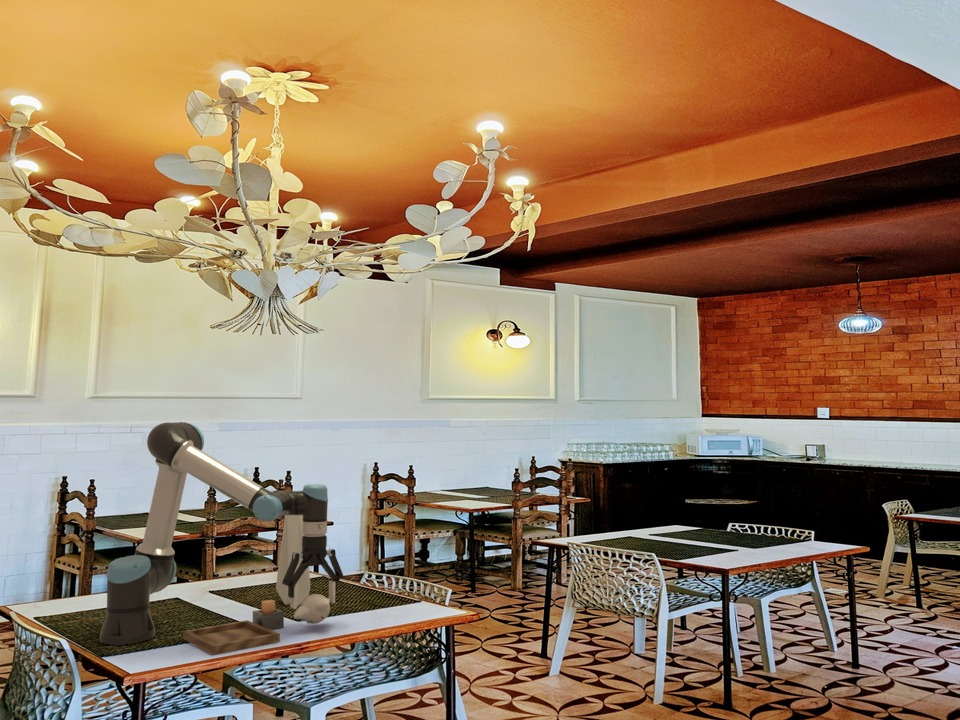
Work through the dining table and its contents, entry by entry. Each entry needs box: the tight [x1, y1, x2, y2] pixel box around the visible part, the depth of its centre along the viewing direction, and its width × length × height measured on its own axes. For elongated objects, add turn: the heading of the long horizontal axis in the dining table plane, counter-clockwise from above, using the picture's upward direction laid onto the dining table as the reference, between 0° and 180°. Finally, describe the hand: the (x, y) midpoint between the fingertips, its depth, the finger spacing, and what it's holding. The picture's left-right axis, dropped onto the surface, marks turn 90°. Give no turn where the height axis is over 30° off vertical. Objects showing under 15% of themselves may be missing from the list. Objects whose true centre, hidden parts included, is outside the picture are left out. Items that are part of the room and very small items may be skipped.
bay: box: [182, 619, 281, 656], centre depth 240 cm, size 20×22×2 cm
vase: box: [275, 515, 311, 606], centre depth 291 cm, size 12×12×33 cm
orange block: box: [261, 599, 276, 614], centre depth 255 cm, size 4×4×5 cm
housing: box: [252, 607, 285, 631], centre depth 255 cm, size 7×7×5 cm
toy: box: [293, 593, 333, 624], centre depth 254 cm, size 13×9×15 cm
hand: (312, 605), depth 254 cm, fingers closed on toy, 12 cm apart
